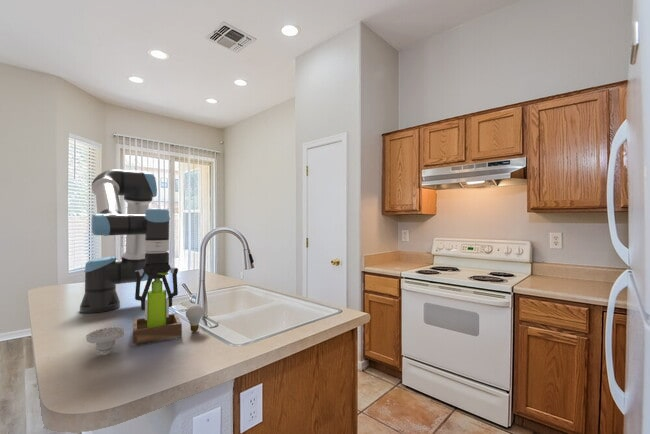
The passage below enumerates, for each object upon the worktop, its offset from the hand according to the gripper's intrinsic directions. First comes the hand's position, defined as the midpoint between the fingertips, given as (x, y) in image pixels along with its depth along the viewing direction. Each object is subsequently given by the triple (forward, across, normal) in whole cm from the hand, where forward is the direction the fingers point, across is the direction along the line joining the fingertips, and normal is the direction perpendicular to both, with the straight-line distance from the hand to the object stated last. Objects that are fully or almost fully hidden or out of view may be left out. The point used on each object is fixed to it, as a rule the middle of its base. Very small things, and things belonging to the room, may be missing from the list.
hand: (156, 317), depth 111 cm
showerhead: (+6, -14, -9) cm, 18 cm away
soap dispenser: (+4, 0, 0) cm, 4 cm away
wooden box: (+6, 0, 0) cm, 6 cm away
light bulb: (+6, +12, -3) cm, 14 cm away
